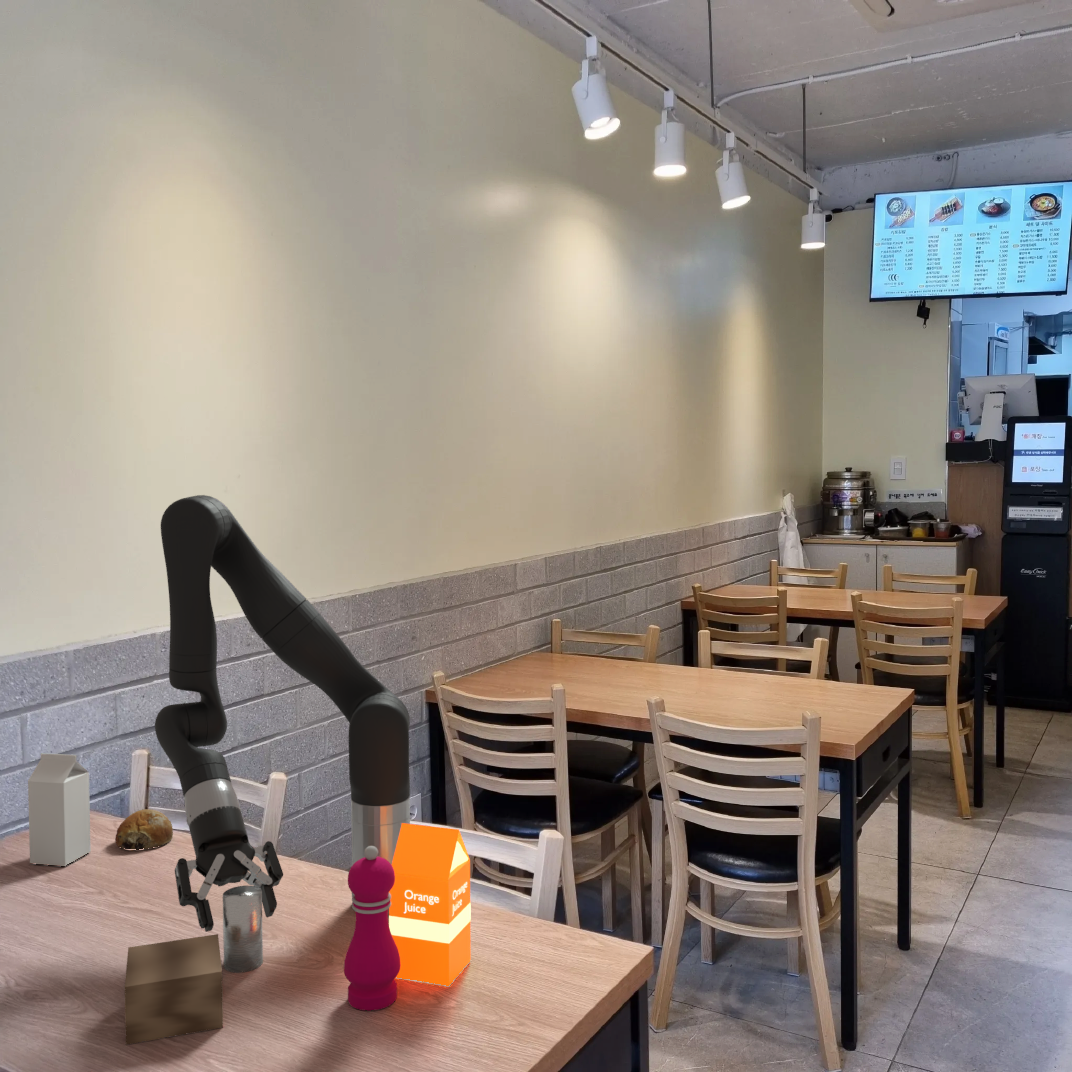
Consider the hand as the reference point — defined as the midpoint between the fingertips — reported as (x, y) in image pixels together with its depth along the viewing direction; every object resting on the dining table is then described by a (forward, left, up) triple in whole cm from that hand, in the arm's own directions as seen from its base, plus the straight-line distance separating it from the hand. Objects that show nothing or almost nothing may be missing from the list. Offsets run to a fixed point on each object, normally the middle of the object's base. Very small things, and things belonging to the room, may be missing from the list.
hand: (241, 921), depth 138 cm
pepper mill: (-15, +16, -6) cm, 23 cm away
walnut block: (+9, +11, -6) cm, 15 cm away
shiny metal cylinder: (0, 0, -6) cm, 6 cm away
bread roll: (+14, -57, -6) cm, 59 cm away
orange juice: (-24, +11, -6) cm, 27 cm away
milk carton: (+28, -53, -6) cm, 60 cm away
